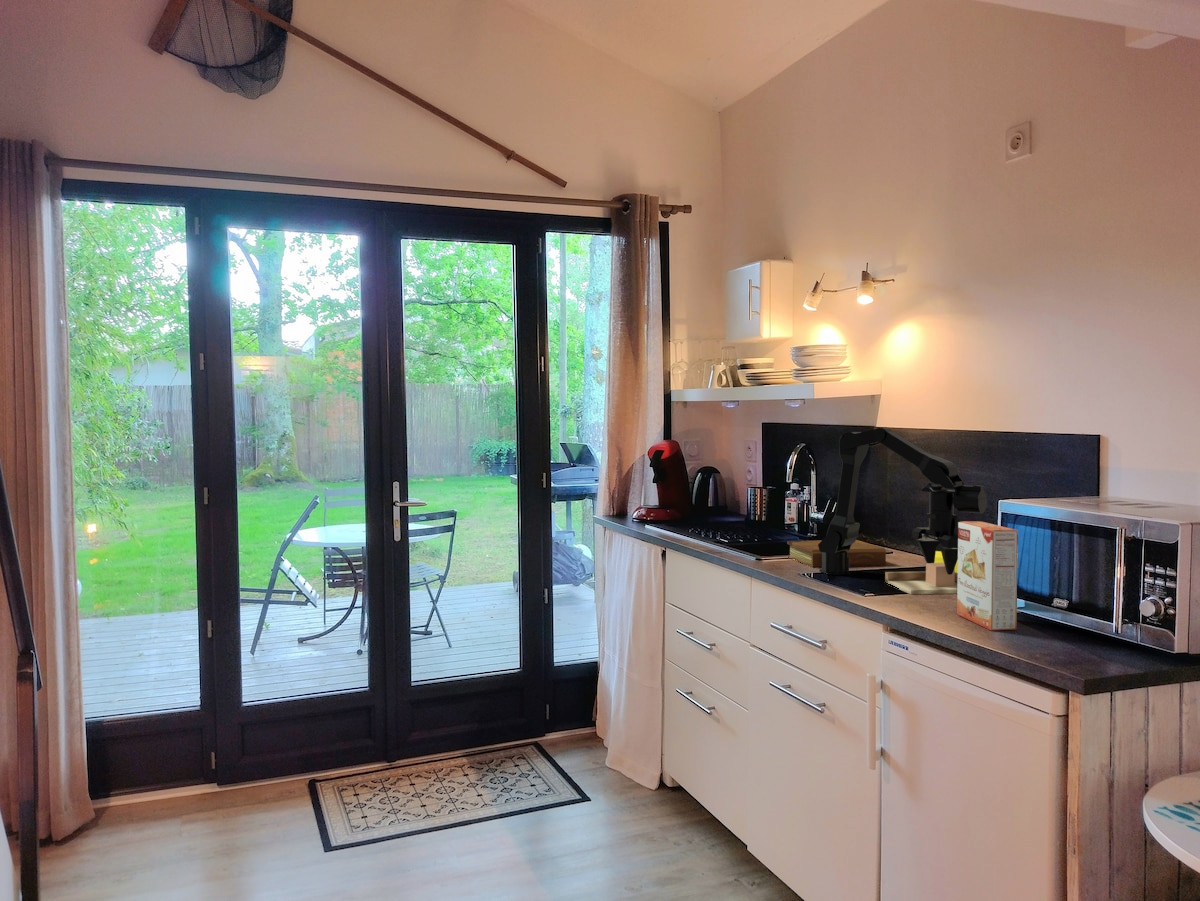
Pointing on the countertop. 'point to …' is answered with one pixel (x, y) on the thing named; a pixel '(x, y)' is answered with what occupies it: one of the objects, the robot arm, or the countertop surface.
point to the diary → (857, 554)
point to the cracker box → (987, 575)
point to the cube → (939, 575)
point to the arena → (917, 583)
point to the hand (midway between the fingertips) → (940, 571)
